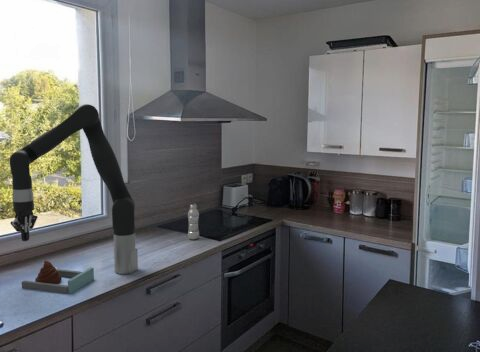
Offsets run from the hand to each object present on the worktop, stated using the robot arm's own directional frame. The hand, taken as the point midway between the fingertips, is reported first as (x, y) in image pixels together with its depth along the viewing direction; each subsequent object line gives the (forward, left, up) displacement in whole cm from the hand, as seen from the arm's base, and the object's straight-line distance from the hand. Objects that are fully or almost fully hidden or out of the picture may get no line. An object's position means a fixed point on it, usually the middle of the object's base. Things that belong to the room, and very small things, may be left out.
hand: (25, 240), depth 171 cm
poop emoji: (-10, 0, -17) cm, 20 cm away
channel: (-14, 0, -17) cm, 22 cm away
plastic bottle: (-46, -75, -17) cm, 90 cm away
